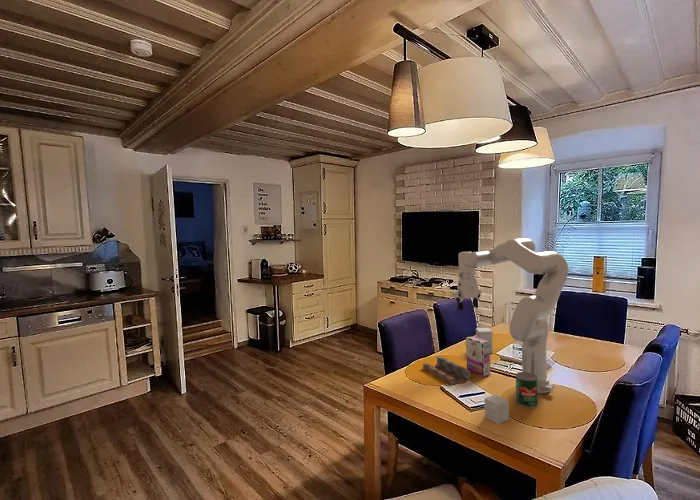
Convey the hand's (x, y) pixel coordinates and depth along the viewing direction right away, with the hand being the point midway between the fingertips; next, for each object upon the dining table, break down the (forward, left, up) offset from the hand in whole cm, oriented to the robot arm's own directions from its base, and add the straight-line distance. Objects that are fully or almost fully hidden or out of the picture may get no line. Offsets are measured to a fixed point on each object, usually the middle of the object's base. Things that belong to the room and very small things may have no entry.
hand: (468, 308), depth 187 cm
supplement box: (+8, -18, -29) cm, 35 cm away
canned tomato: (-44, +10, -29) cm, 53 cm away
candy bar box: (-12, +5, -29) cm, 32 cm away
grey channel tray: (-6, +20, -28) cm, 35 cm away
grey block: (-47, +29, -29) cm, 62 cm away
